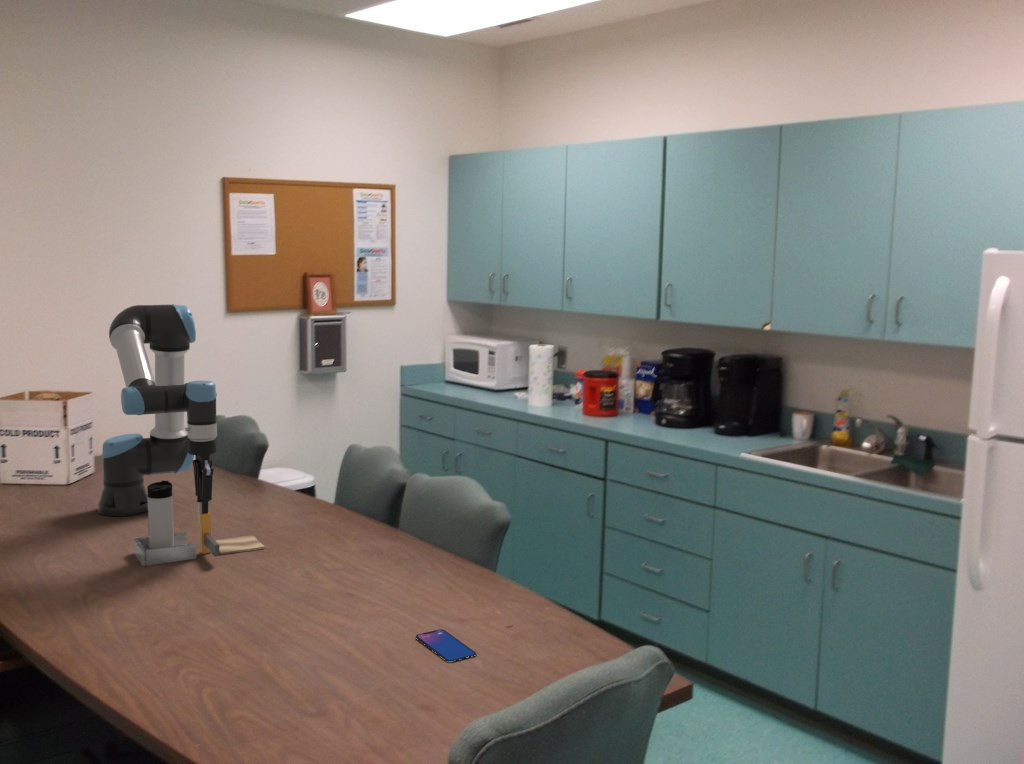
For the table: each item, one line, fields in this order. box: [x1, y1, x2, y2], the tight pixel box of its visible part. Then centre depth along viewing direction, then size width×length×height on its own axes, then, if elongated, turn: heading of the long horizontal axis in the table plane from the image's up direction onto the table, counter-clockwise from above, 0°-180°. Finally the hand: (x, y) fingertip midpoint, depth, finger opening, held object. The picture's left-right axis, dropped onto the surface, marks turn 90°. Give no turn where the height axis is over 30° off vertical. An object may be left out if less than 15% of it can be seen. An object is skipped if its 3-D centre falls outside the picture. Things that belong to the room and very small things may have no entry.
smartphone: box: [415, 628, 477, 662], centre depth 199 cm, size 7×1×15 cm
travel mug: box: [146, 480, 175, 549], centre depth 250 cm, size 6×7×20 cm
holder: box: [133, 531, 197, 567], centre depth 252 cm, size 12×14×4 cm
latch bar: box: [199, 512, 221, 557], centre depth 250 cm, size 13×2×11 cm, turn 32°
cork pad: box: [214, 534, 266, 556], centre depth 262 cm, size 12×12×1 cm
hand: (204, 523), depth 256 cm, fingers closed
